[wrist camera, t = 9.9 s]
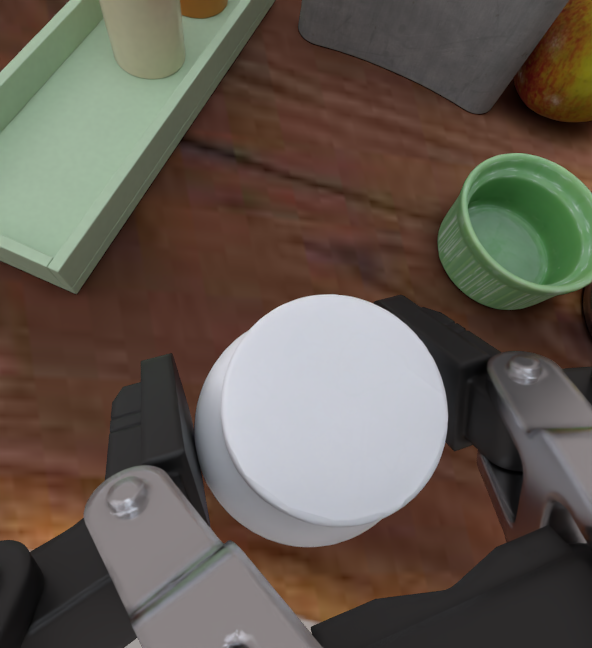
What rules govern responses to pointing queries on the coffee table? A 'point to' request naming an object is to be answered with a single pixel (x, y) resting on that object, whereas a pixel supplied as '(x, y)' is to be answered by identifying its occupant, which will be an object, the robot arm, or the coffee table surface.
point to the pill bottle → (320, 421)
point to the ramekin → (518, 233)
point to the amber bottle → (202, 8)
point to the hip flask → (436, 40)
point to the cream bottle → (145, 36)
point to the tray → (95, 133)
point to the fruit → (561, 67)
